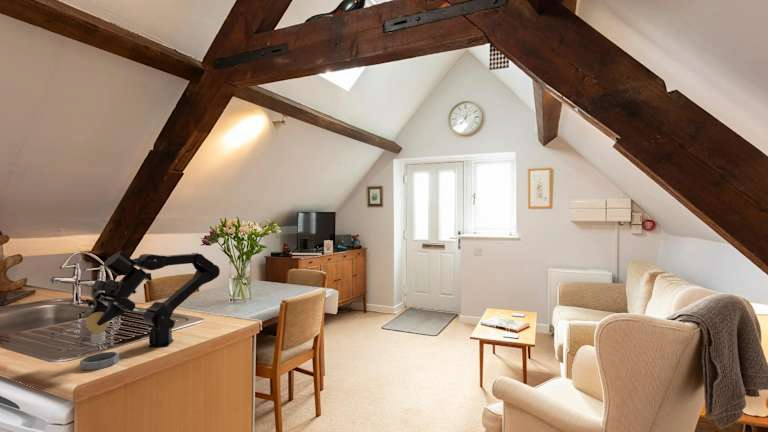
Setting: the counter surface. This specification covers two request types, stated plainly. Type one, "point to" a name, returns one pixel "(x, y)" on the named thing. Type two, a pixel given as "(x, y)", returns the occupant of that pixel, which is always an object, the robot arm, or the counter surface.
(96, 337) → the light bulb
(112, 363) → the saucer
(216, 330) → the counter surface
